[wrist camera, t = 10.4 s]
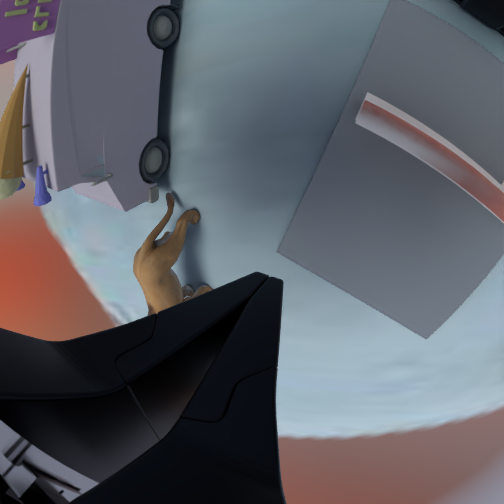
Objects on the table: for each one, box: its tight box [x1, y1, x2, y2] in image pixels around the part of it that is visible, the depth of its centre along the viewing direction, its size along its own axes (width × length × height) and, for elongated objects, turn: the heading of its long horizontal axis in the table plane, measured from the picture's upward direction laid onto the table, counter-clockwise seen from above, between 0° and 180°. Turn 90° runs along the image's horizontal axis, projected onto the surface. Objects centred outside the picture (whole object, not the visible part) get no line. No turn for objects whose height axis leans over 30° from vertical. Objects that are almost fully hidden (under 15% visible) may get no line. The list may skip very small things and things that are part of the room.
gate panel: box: [355, 99, 504, 223], centre depth 11 cm, size 10×1×4 cm, turn 71°
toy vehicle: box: [0, 0, 179, 211], centre depth 14 cm, size 9×20×15 cm, turn 173°
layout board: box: [277, 0, 504, 339], centre depth 14 cm, size 21×15×1 cm
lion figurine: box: [133, 193, 212, 316], centre depth 23 cm, size 15×5×9 cm, turn 13°
